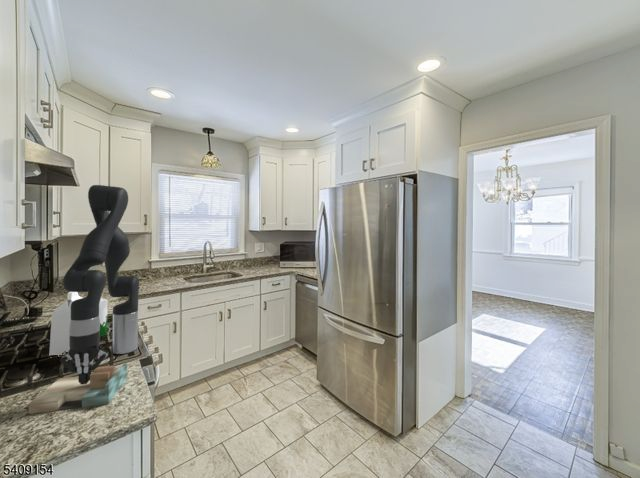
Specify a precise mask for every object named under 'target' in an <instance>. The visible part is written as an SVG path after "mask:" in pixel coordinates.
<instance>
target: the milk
mask: <svg viewBox="0 0 640 478" xmlns="http://www.w3.org/2000/svg"><path fill="white" fill-rule="evenodd" d="M82 298H83V296H80V295H79V292H70V291H68V293H67V296H66V300H65V301H64V302H63V303H62V304H60V305H59V306H58V307H57V308H55V309H54V311H52V314H51V320H50V321H51V322H50V337H49V339H50V340H49V351H48V352H49V354H48V357H49V356H50V355H58V357H60V356H59V355H62V353H63V352H64V351H66V352H68V351H69V350H70V347H69V329H70V321H71V303H72V302H73V301H75V300H77V299H82Z"/></svg>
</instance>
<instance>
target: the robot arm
mask: <svg viewBox="0 0 640 478" xmlns="http://www.w3.org/2000/svg"><path fill="white" fill-rule="evenodd" d="M128 194H129V193H128V192H127V189H125V188H124V187H119V186H110V185H104V184H103V185H102V184H93V185H91V186H90V187H89V188H88V193H87V198H88V204H89V207H90V211H91V214H92V217H93V219H94V222H95V225H96V227H94V228H93V229H92V230H91V231H90V232H89V233H87V235H86V237H85V238H84V241H83V243H82V246H81V248H80V251H79V254H78V256H77V258H75V260H74V262H73V263H72V265H71V266H70V267H69V268H68V270H67V271H66V273H65V274H64V276H63V279H62V280H63V281H62V285H63V288H64V289H65V290H66V291H67V292H78V293H86V292H87V295H86V296H85V297H86V298H85V297H82V299H77V300H75V301H73V302H72V303H71V321H70V329H69V347H70V350H69V351H68V354H67V355H65V356H61V358H59V362H60V363H61V364H62V365H63V366H64V367H65V368H66V369H67V370H69V371H70V372H71V373H77V375H78V376H79V383H80V384H87V383H88V382H89V381H90V374H91V373H92V372H94V371H95V370H96V369H97V368H98V367H100V364H101V363H102V362H103V361H104V360H105V359H106V358H107V357H108V355H109V353H110V352H109V351H103V350H102V347H101V345H100V342H101V337H100V319H99V302H100V299H101V298H102V295H103V292H104V288H105V286H106V284H107V290H108V291H107V292H108V294H109V296H110V297H112V298H128V299H127V300H126V301H124V302H121V303H118V304H116V305H114V306H113V308H112V353H113V354H115V355H123V354H129V353H131V352H134V351H135V350H137V349H138V348H139V291H140V279H139V277H138V276H137V275H119V274H118V273H119V270H120V268H121V266H122V265H123V264H124V263H125V261H126V260H127V259H128V258H129V255H130V252H131V249H130V248H131V247H130V243H129V238H128V235H126V233H125V232H124V231H123V230H122V228H120V227H119V225H120V222H121V220H122V218H123V216H124V214H125V212H126V210H127V207H128V203H129V195H128ZM103 264H104V266H105V271H106V274H105V273H104V272H103V271H102V270H99V269H90V268H92V267H95V266H100V265H103ZM96 357H97V360H96V361H95V362H94V359H95V358H96Z"/></svg>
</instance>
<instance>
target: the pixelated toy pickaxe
mask: <svg viewBox="0 0 640 478" xmlns="http://www.w3.org/2000/svg"><path fill="white" fill-rule="evenodd" d="M127 368H128V364H127V363H123V364H122V365H121V366H120V368H119V369H118V370H117V371H115V375H114V376H113V377H112V378H111V379H110V380H109V382H108V383H107V384H106V385H105V389H96V390H90V381H89V382H88V383H87V384H80V383H79V375H78V376H70V377H60V378H58V379H57V380H56V381H54V382H53V383H52V384H51V385H50V386H48V387H47V388H46V389H45V390H44V391H42V393H40V394H38V396H37V397H35V398H34V399H33V400H32V401H30V402H29V403H28V414H29V415H30V414H39V413H47V412H48V413H49V412H54V411H55V412H56V411H64V410H72V409H78V408H87V407H96V406H103V405H109V404H110V403H111V401H112V400H113V398H114V397H115V396H116V395H117V393H118V392H119V390H121V388H122V387H123V385H125V382H126V381H127V380H128V375H127V374H128V373H127V372H128V369H127Z"/></svg>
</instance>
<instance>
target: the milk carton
mask: <svg viewBox="0 0 640 478" xmlns="http://www.w3.org/2000/svg"><path fill="white" fill-rule="evenodd" d="M86 297H87V296H85V297H84V298H86ZM108 303H109V300H108V299H106V298H104V297H101V299H100V302H99V319H100V338H101V336H102V337H105V336H107V335H108V305H109V304H108ZM106 334H107V335H106ZM104 335H105V336H104Z"/></svg>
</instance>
